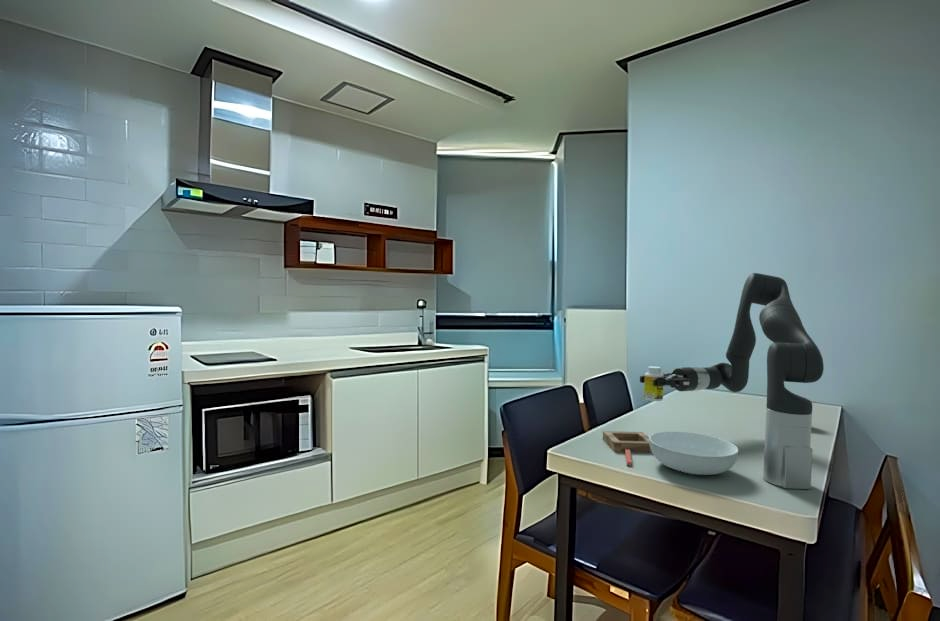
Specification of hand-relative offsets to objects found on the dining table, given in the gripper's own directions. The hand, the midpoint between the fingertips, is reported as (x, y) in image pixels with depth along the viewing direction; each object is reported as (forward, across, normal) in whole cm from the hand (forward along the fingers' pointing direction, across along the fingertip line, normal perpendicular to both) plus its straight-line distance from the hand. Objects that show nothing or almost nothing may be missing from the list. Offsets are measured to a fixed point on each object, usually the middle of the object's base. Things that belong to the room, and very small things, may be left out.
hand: (647, 380), depth 158 cm
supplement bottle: (-3, 0, +6) cm, 7 cm away
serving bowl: (+8, +27, +18) cm, 34 cm away
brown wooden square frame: (+11, +6, +18) cm, 21 cm away
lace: (+19, +16, +18) cm, 31 cm away
